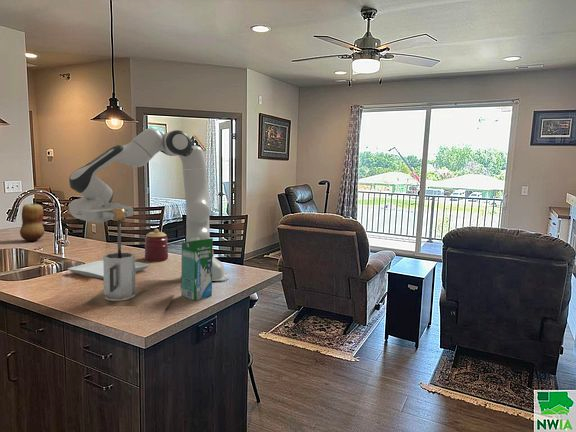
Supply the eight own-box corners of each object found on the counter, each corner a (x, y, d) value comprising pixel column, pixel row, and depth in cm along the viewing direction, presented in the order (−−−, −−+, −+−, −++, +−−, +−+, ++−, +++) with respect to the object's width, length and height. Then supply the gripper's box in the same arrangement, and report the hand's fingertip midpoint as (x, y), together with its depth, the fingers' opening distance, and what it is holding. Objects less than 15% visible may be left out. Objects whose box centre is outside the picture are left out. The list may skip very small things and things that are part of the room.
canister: (161, 262, 218) (161, 231, 216) (140, 260, 220) (139, 229, 218) (172, 257, 231) (172, 228, 229) (151, 255, 233) (151, 226, 231)
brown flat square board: (152, 292, 166) (152, 289, 166) (137, 309, 146) (137, 305, 146) (104, 292, 165) (103, 288, 164) (82, 309, 145) (82, 305, 145)
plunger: (132, 267, 158) (132, 208, 155) (126, 272, 150) (125, 210, 148) (113, 266, 157) (112, 207, 155) (105, 271, 150) (104, 209, 147)
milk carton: (198, 291, 171) (199, 234, 168) (211, 296, 165) (212, 237, 162) (181, 295, 164) (181, 237, 161) (194, 301, 158) (195, 240, 155)
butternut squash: (38, 243, 255) (37, 205, 252) (16, 242, 253) (14, 204, 250) (48, 239, 269) (47, 203, 266) (27, 239, 267) (25, 202, 264)
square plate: (150, 271, 201) (150, 263, 201) (106, 284, 177) (106, 275, 176) (112, 263, 213) (112, 256, 212) (66, 275, 188) (65, 267, 187)
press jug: (138, 292, 161) (138, 252, 159) (126, 304, 147) (126, 261, 145) (110, 292, 160) (110, 252, 158) (96, 304, 146) (95, 260, 144)
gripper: (73, 205, 149) (95, 208, 142) (120, 202, 166) (142, 205, 159) (73, 221, 149) (95, 225, 142) (120, 217, 167) (142, 220, 160)
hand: (120, 214), depth 151 cm, fingers closed on plunger, 4 cm apart
